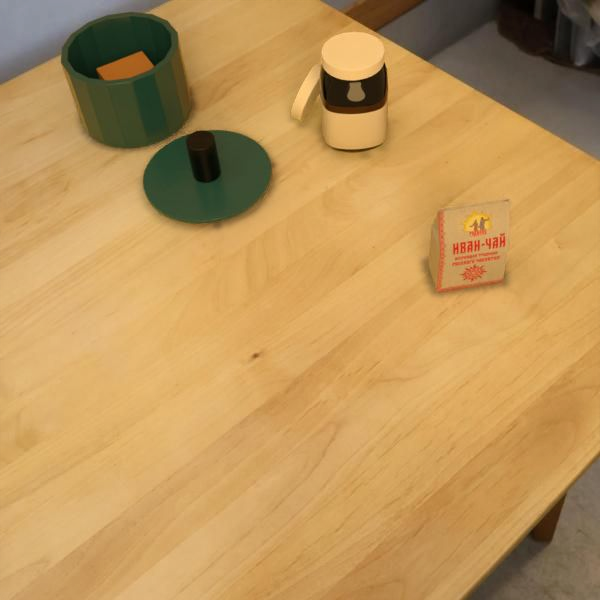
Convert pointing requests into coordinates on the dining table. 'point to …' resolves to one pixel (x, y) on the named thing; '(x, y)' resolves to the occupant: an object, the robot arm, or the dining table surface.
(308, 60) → the dining table surface
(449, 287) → the tea bag
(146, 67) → the orange seamed cube
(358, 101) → the spread jar
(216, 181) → the lid
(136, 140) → the pot
